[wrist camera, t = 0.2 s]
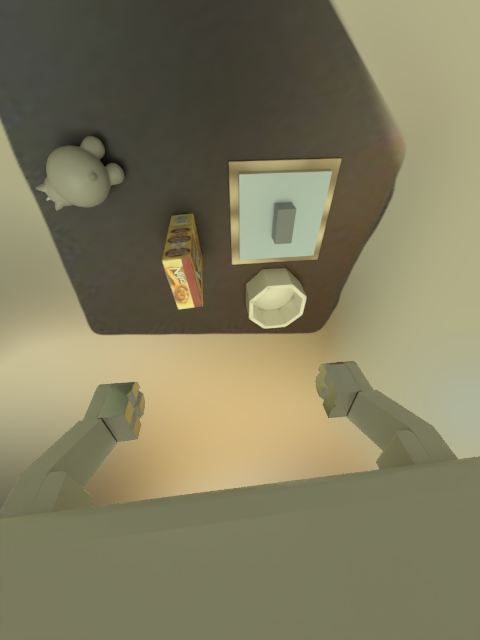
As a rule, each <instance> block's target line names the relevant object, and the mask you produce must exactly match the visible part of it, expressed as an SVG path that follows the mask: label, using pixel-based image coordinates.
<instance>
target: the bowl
mask: <svg viewBox="0 0 480 640" xmlns="http://www.w3.org/2000/svg"><path fill="white" fill-rule="evenodd" d="M305 302H306V295H305V293H304V291H303V288H302V286H301V284H300V282H299V280H298V279H296V278H295V277H294V276H293V275H292V274H291V273H290V272H289V271H288V270H287V269H286V268H278V269H262V270H261V271H260V272H259V273H258V274H257V275H256V276H255V277H253V278H252V279H251V280H250V281H249V282H248V283H247V284H246V305H247V310H248V316H249V319H250V320H252V321H253V322H255V323H256V324H258V325H259V326H261V327H262V328H277V327H286V326H287V325H288V324H290V323H291V322H293V321H294V320H295V319H297V318H298V317H300V316H301V315H303V310H304V306H305Z"/></svg>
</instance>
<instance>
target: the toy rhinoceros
mask: <svg viewBox="0 0 480 640" xmlns="http://www.w3.org/2000/svg"><path fill="white" fill-rule="evenodd" d="M104 154H105V149H104V146H103V144H102V142H101V141H100V140H99V139H98V138H96V137H94V136H88V137H86V138H85V139H84V140H83V141H82V143H81V146H79V147H77V146H62V147H59V148H57V149H56V150H54V151H53V152H52V153H51V154H50V156H49V158H48V160H47V165H46V171H47V176H48V177H47V178H46V179H45V181H44V184H41V185H38V186H37V187H36V189H37V190H39V191H43V192H45V193H46V194H47V195H48V198H47V200H52V201H53V202H55V209H56V210H60V209H61V208H63V207H64V206H70V205H76V206H80V207H93V206H97V205H99V204H100V203H102V202H103V201H104V200H105V199H106V197H107V196H108V193H109V190H110V188H111V186H112V185H117V184H120V183H121V182H123V180H124V172H123V170H122V168H121V167H120V166H119V165H117V164H115V163H109V164H107V165H106V166H105V167H104V165H103V164H102V162H101V161H100V159H101V158H102V157H103V156H104Z"/></svg>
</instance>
